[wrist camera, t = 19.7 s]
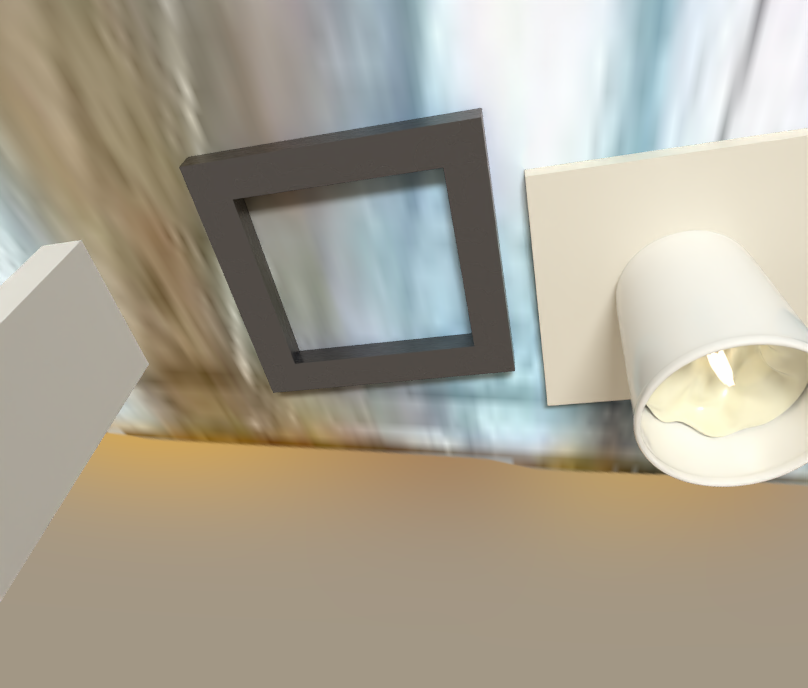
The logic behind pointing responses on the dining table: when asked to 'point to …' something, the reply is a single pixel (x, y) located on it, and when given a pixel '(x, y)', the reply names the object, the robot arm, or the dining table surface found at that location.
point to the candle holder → (712, 362)
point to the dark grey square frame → (344, 162)
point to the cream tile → (646, 222)
